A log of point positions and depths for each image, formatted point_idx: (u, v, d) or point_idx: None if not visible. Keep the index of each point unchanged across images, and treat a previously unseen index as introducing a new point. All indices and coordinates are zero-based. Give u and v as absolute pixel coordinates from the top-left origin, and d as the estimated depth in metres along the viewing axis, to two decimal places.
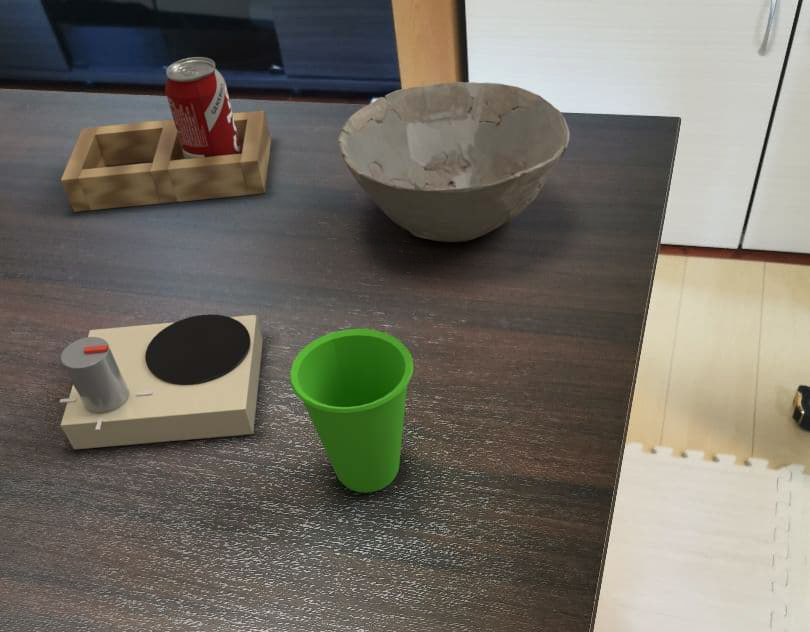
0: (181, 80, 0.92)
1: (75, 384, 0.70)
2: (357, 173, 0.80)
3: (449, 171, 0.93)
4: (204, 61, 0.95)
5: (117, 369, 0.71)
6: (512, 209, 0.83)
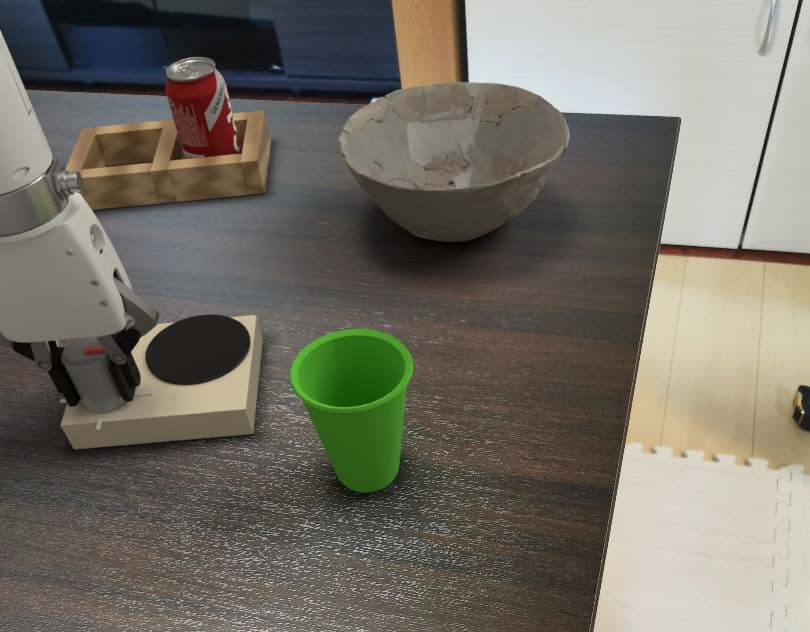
0: (181, 80, 0.92)
1: (75, 384, 0.70)
2: (357, 173, 0.80)
3: (449, 171, 0.93)
4: (204, 61, 0.95)
5: None
6: (512, 209, 0.83)
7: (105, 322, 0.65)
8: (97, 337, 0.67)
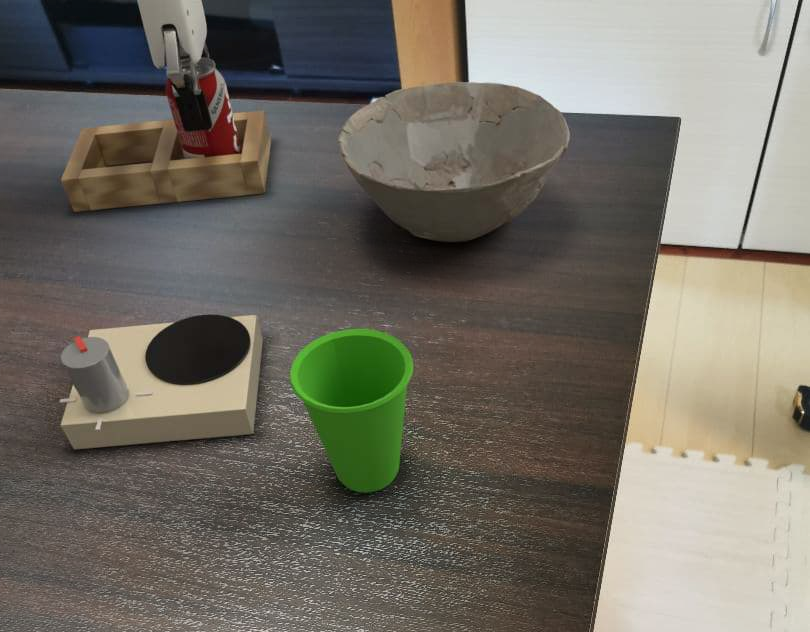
0: None
1: (115, 371, 0.71)
2: (357, 173, 0.80)
3: (449, 171, 0.93)
4: (204, 61, 0.95)
5: None
6: (512, 209, 0.83)
7: (204, 20, 0.93)
8: None
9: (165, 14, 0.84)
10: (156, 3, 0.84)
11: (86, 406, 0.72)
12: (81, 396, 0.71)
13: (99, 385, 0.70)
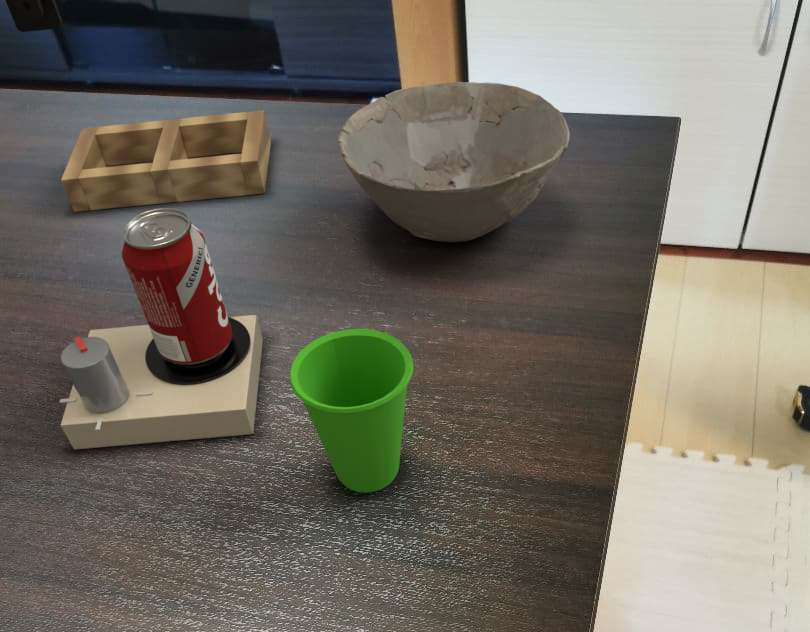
0: (142, 247, 0.65)
1: (115, 371, 0.71)
2: (357, 173, 0.80)
3: (449, 171, 0.93)
4: (176, 214, 0.68)
5: None
6: (512, 209, 0.83)
7: None
8: None
9: None
10: None
11: (86, 406, 0.72)
12: (81, 396, 0.71)
13: (99, 385, 0.70)
